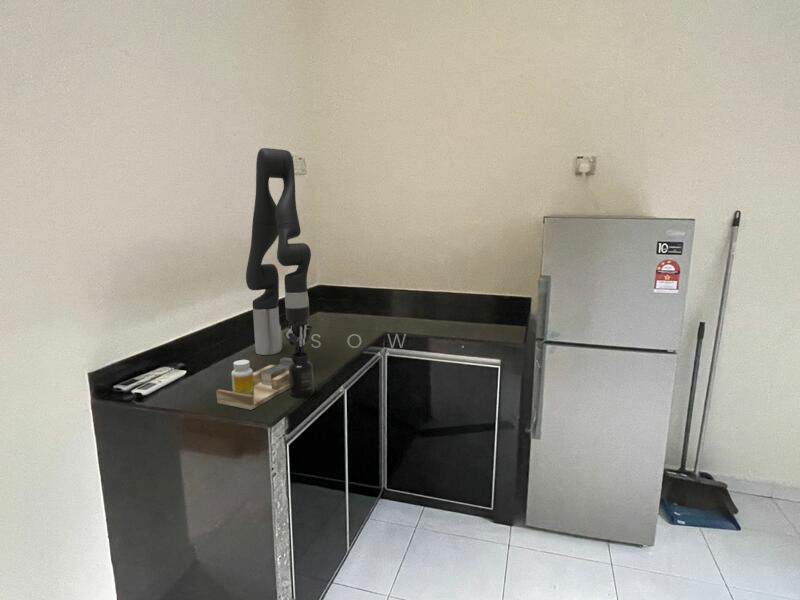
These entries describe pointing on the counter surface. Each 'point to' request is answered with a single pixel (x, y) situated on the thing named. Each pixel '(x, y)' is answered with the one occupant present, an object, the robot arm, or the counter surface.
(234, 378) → the supplement bottle
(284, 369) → the shaft
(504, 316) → the counter surface
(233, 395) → the cradle
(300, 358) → the supplement bottle
